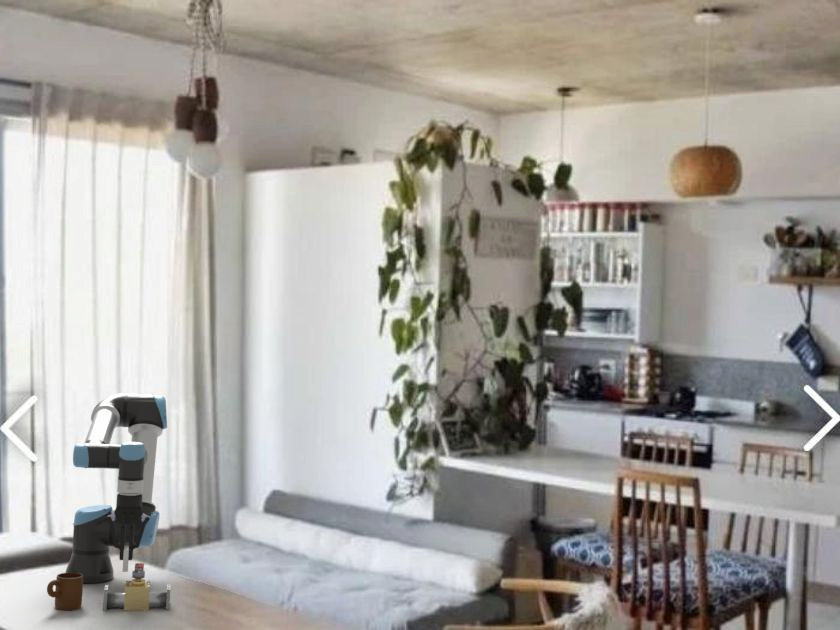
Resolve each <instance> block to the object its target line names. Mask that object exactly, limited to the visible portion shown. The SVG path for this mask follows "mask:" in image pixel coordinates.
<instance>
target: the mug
mask: <svg viewBox="0 0 840 630" xmlns="http://www.w3.org/2000/svg"><path fill="white" fill-rule="evenodd" d="M54 586H55V589H54ZM83 589H84V583H83V575H82V574H80V573H65V572H61V573H58V574H57V575H56V579H53V580H50V581H49V582H48V583H47V587H46V593H47V594H48V595H47V596H49V597H50V598H54V608H55V609H57V610H59V611H74V610H78V609H80V608H81V606H82V602H83Z"/></svg>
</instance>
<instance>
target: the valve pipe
mask: <svg viewBox="0 0 840 630" xmlns="http://www.w3.org/2000/svg"><path fill="white" fill-rule="evenodd" d="M150 590H151V580H145V579H144V578H141V579H136V578H132V579H131V580H126V581H125V587H124V592H123V591H120V592H118V591H117V592H115V591H113V592H109V584H105V585H104V588H103V601H102V611H107V609H109V608H111V609H113V608H114V609H115V608H117V609H118V608H120V609H121V608H123V611H124V612H125V611H127V612H129V611H132V610H133V611H135V610H137V611H138V610H148V611H149V608H165V611H169V610H170V606H171V604H172V601H171V584H166V591H153V592H152V591H150ZM170 603H171V604H170ZM168 609H169V610H168ZM137 611H135V612H137ZM138 612H139V611H138Z"/></svg>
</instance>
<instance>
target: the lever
mask: <svg viewBox="0 0 840 630" xmlns="http://www.w3.org/2000/svg"><path fill="white" fill-rule="evenodd" d="M145 574H146V571H145V563H144V562H143V563H141V562H140V563H138V562H136V563H135V564H134V570H132V574H131V578H132V579H135V578H136V579H144V578H145V577H146V575H145Z"/></svg>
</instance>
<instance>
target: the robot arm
mask: <svg viewBox="0 0 840 630" xmlns="http://www.w3.org/2000/svg"><path fill="white" fill-rule="evenodd" d="M167 417H168V416H167V400H166V398H165V396H164V395H157V394H143V393H142V394H139V393H138V394H137V393H117V394H116V393H115V394H113V395H110V396H108V397H105V398H104V399H102V400H101V401H99V402H98V403H97V404H96V405H95V407H94V408H93V410H92V412H91V415H90V420H91V424H90V427H89V429H88V432H87V435H86V438H85V440H84V442H81V443H76V444H75V445H74V447H73V452H72V463H73V466H74V467H75V468H81V469H82V468H83V469H110V470H111V469H113V470H114V469H115V470H117V469H118V476H117V488H116V492H117V494H116V505H115V509H113V506H112V505H111V504H95V505H89V506H85V507H82V508H79V509H78V510H77V511H75V513H74V521H73V523H72V525H73V533H72V534H73V535H72V551H71V557H70V560H69V561H68V564H67V565H66V566H67V567H66V569H65V572H64V573H80V574H82V575H83V584H97V583H104V582H109V581H111V580H113V579H114V573H115V571H114V567H113V563H112V560H111V556H110V547H114V548H115V549H118V550H119V559H118V560H119V561H122V572H123V573H128V572H129V562H130V561H133V556H134V554H133V552H134V549H138V548H145V547H147V548H148V547H151V546H152V545H153V544H154V542H155V539H156V537H157V531H158V527H159V521H160V511H158V510H156V508H157V507H156V505H155V503H153V502H152V501H153V488H154V480H155V469H156V467H155V466H156V458H157V447H158V446H157V445H158V438H159V437H160V436H161V435H162V434H163V432H164V431H163V430H166V429H167V428H168V418H167ZM116 428H128V429H127V431H128V433H129V434H130V436H131V440H130V441H126V442H122V443H120V444H111V441H112V440H111V439H112V436H113V434H114V431H115V429H116ZM126 547H127V548H126Z"/></svg>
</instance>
